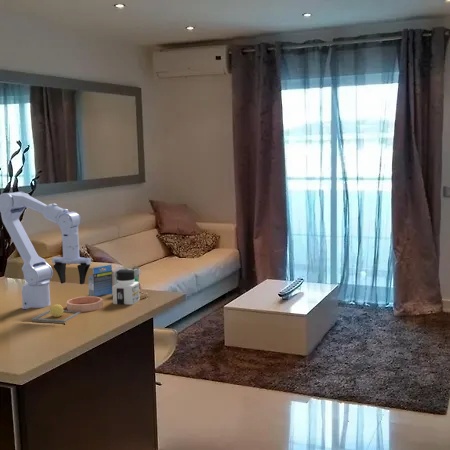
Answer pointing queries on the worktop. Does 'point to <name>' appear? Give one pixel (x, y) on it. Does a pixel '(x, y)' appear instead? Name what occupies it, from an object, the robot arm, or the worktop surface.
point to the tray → (54, 320)
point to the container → (126, 288)
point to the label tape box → (100, 281)
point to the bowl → (84, 303)
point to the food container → (136, 274)
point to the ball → (56, 310)
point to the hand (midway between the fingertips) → (72, 283)
